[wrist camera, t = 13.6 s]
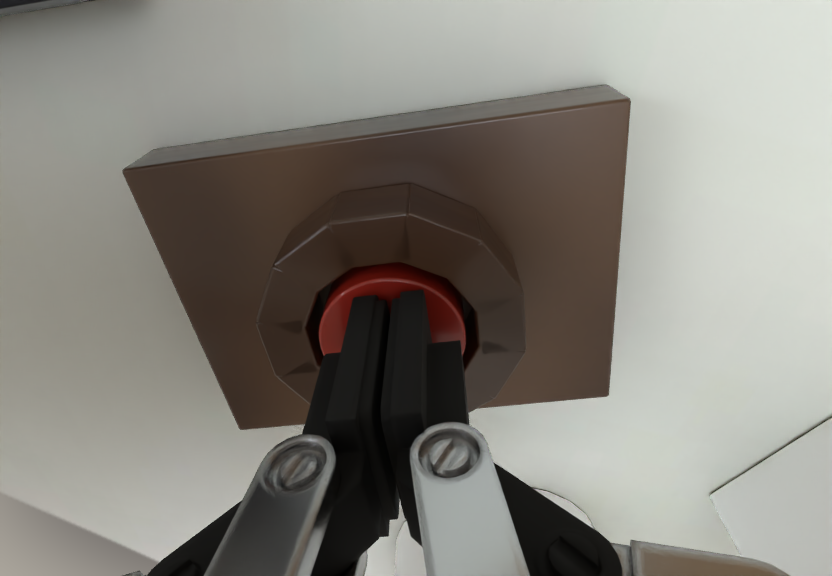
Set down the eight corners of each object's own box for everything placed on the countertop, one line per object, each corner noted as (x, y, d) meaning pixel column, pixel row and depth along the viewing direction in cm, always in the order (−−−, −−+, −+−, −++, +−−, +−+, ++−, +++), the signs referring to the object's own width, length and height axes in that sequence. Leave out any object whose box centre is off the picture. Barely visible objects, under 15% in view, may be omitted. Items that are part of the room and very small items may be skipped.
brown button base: (253, 395, 18) (220, 477, 15) (151, 149, 14) (75, 198, 11) (594, 362, 17) (629, 442, 14) (608, 83, 13) (664, 118, 10)
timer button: (345, 360, 15) (336, 403, 14) (315, 252, 13) (301, 288, 12) (467, 347, 15) (472, 390, 13) (455, 235, 13) (458, 270, 11)
